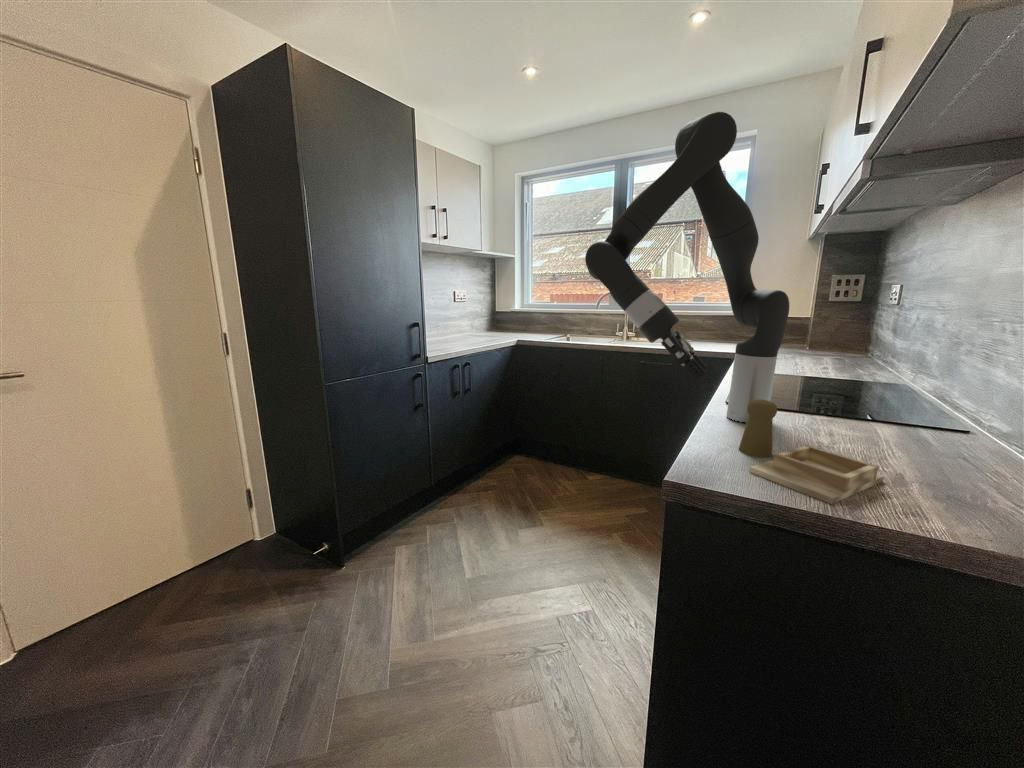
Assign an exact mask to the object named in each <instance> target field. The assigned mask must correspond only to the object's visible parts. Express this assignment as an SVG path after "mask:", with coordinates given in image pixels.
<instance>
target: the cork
mask: <svg viewBox="0 0 1024 768" xmlns="http://www.w3.org/2000/svg"><path fill="white" fill-rule="evenodd" d="M747 412H748V413H749V417H748V421H747V423H745V424H746V425H745V427H744V430H743V434H742V437H741V440H740V444H739V447H738V451H740V453H742V454H744V455H747V456H751V457H755V458H756V457H757V458H761V459H762V458H764V459H765V458H771V457H772V456H773V422H774V421H773V420H774V418H775V417H776V415H777V413H778V406H777V404H776V403H775V402H773V401H772V400H771V401H767V400H761V399H757V400H752V401H750V402H749V403H748V406H747Z"/></svg>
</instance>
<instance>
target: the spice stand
mask: <svg viewBox="0 0 1024 768" xmlns="http://www.w3.org/2000/svg"><path fill="white" fill-rule="evenodd" d="M878 470H879V465H876V464H872V463H869V462H867V461H863V460H859V459H857V458H853V457H849V456H846V455H842V454H838V453H835V452H832V451H828V450H824V449H822V448H818V447H815V446H811V445H808V444H805V445H804V446H803V445H802V446H799V447H796V448H793V449H789V450H786V451H781V452H779V453H776V454H774V457H773V459H771V460H768V461H764V462H762V463H757V464H754V465H751V466H749V470H748V471H749V473H751V474H754V475H756V476H759V477H761V478H765V479H767V480H769V481H771V482H775V483H777V484H780V485H782V486H784V487H787V488H790V489H792V490H795V491H797V492H799V493H802V494H805V495H808V496H810V497H812V498H814V499H818V500H820V501H822V500H823V501H822V502H825V503H829V504H831V505H833V504H835V503H838V502H839V501H842V500H844V499H847V498H848V497H849V498H850V497H851V496H853V495H855V494H858V493H860V492H863V491H864V490H867V489H869V488H871V487H873V486H875V485H878V484H880V483H882V482H884V479H885V475H883V474H879V473H878Z"/></svg>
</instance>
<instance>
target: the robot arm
mask: <svg viewBox="0 0 1024 768" xmlns="http://www.w3.org/2000/svg"><path fill="white" fill-rule="evenodd" d="M737 127H738V126H737V123H736V121H735V119H734V117H733V116H732V115H731V114H729V113H727V112H724V111H714V112H710V113H709V112H708V113H707V114H705V115H702V116H700V117H698V118H696V119H694V120H693V119H692V120H691V121H689V122H687V123H686V124H684V125H683V126H682V127H681V128H680V129H679V131H678V133H677V135H676V137H675V138H676V139H675V143H674V151H675V156H676V159H675V160H674V162H673V163H672V164H671V165H670V166H669V167H668V168H667V169H666V170H665V171H663V173H662V174H661V175H660V176H659V177H658V178H656V179H655V180H654V181H653V182H652V183H651V184H650V185H648V186H647V187H646V188H645V189H643V191H642V192H640V193H639V194H638V195H637V196H636V197H635V198H634V200H633V201H631V203H630V204H629V205H628V206H627V207H626V209H625V210H624V211H623V212H622V213H621V215H619V217H618V218H617V220H616V221H615V222H614V224H613V225H612V228H611V230H610V233H609V235H608V236H607V237H606V239H605V240H604V241H603V240H602V241H596V242H595V243H592V244H591V245H590V246H589V247H588V248H587V250H586V253H585V258H584V260H585V266H586V268H587V271H588V273H589V274H590V276H591V277H592V278H593V279H595V280H598V281H600V282H601V284H602V285H604V287H605V288H606V289H607V290H608V292H609V293H610V296H611V297H612V298H613V300H614V301H615V303H617V305H618V306H619V307H620V308H621V309H622V310H623V312H624V313H625V314H626V315H627V317H628V319H629V320H630V322H632V324H633V325H634V326H635V327H636V328H637V329H638V331H640V333H641V334H642V336H644V337H645V339H647V341H648V342H649V343H651V344H653V343H654V342H656V341H658V340H659V339H661V340H662V341H661V345H662V347H664V349H665V350H666V351H668V353H669V354H670V355H671V357H672V358H673V359H674V360H675V361H676V362H677V365H680V366H682V367H684V368H686V369H687V370H688V372H689V373H690V374H691V375H692V376H693V377H694V379H696V380H699V379H701V378H702V377H703V376H705V375H706V369H707V365H706V364H705V363H704V362H703V360H702V358H700V357H699V356H698V355H697V354H696V351H695V349H694V347H692V345H691V344H690V343H689V341H688V340H687V339H686V338H685V337H684V335H683V334H682V333H681V332H679V331H677V330H676V331H675V330H673V329H674V327H675V326H676V325H677V324H678V323H679V322H680V319H679V318H678V316H677V315H676V314H675V313H674V311H672V310H671V308H670V307H669V306H668V305H667V304H666V303H665V302H664V301H663V300H662V299H661V298H660V297H659V295H657V294H656V293H655V292H654V291H652V289H651V288H649V286H648V285H647V284H646V283H645V282H644V281H643V280H642V279H641V278H640V276H639V275H637V273H635V272H634V270H633V269H632V267H631V266H630V265H629V263H628V262H627V260H628V258H629V256H630V255H631V254H632V252H633V250H634V249H635V248H636V247H637V245H638V244H640V243H641V241H642V240H643V239H644V238H645V237H646V236H647V234H648V233H649V232H650V231H651V230H652V228H653V227H654V226H656V224H657V223H658V222H659V221H660V220H661V218H662V217H663V216H664V215H665V214H666V212H667V211H668V210H669V209H670V208H672V206H673V205H674V204H675V203H676V202H677V201H678V200H679V199H680V198H681V197H682V196H683V195H684V194H685V193H686V192H687V191H688V190H689V189H690V188H691V189H692V192H693V194H694V197H695V199H696V201H697V205H698V208H699V211H700V213H701V215H702V219H703V222H704V224H705V227H706V229H707V233H708V236H709V239H710V241H711V244H712V247H713V250H714V253H715V255H716V257H717V260H718V263H719V266H720V268H721V272H722V275H723V278H724V281H725V286H726V288H727V289H726V290H727V293H728V297H729V302H730V306H731V310H732V314H733V316H734V319H735V320H736V322H737V323H738V324H739V325H741V326H744V327H747V328H749V327H750V328H755V332H754V335H752V336H751V337H750V338H748V339H744V340H741V341H739V342H737V343H736V346H735V353H734V360H733V366H732V373H731V381H730V389H729V394H728V395H729V396H728V402H727V403H728V404H727V410H726V415H727V416H726V418H727V417H728V418H727V419H729V418H730V419H729V420H731V419H732V420H731V421H734V420H735V421H734V422H737V421H739V422H738V423H742V422H745V423H744V424H747V421H748V417H749V413H748V412H747V406H748V403H749V402H750V401H752V400H757V399H761V400H767V401H771V402H772V395H773V390H774V376H775V372H776V367H777V366H776V365H777V359H778V354H779V349H780V348H781V345H782V343H783V340H784V336H785V331H786V328H787V327H786V326H787V322H788V319H789V313H790V300H789V299H790V298H789V296H788V294H787V293H786V292H785V291H783V290H778V289H775V290H774V289H757V288H756V286H755V284H754V281H753V279H752V272H751V268H752V263H753V261H754V258H755V255H756V252H757V249H758V246H759V240H760V239H759V233H758V228H757V225H756V222H755V219H754V216H753V213H752V211H751V209H750V207H749V206H748V204H747V203H746V201H745V200H744V199H743V197H741V195H740V194H739V193H738V192H737V191H736V190H735V189H734V187H732V185H731V184H730V183H729V181H728V179H727V178H726V176H725V174H724V172H723V169H722V166H721V163H720V161H722V159H724V158H725V157H726V156H727V155H728V154H729V153H730V152H731V150H732V149H733V147H734V144H735V142H736V139H737V135H738V129H737Z"/></svg>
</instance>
